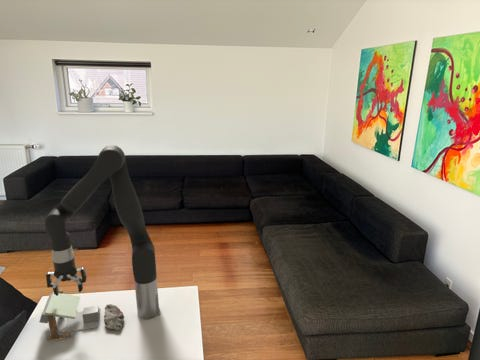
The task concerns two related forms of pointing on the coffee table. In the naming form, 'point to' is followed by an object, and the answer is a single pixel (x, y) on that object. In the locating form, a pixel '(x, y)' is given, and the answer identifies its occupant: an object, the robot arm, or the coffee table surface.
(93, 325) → the mat
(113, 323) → the mineral rock
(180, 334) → the coffee table surface
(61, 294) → the trapdoor
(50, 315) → the frame
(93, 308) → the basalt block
